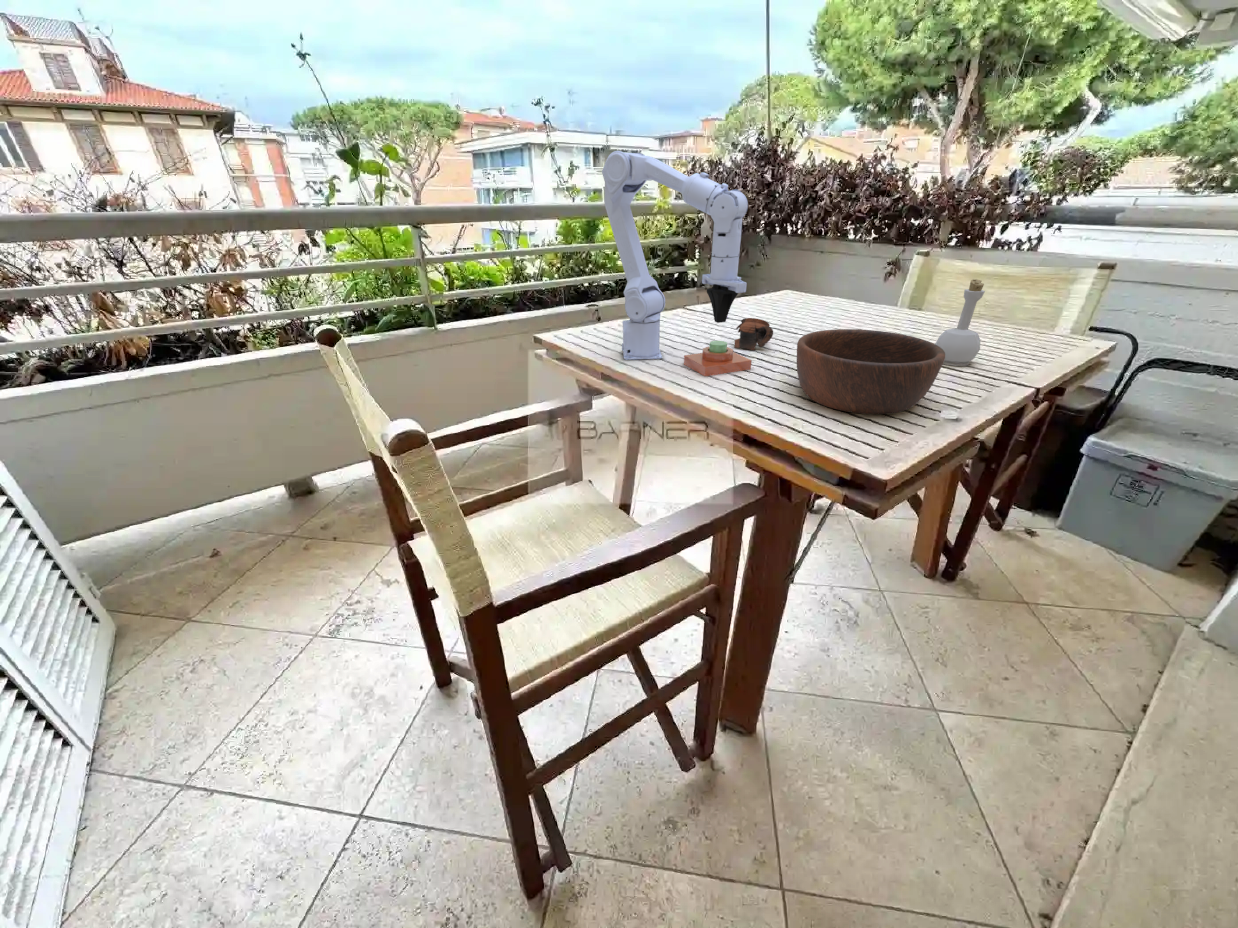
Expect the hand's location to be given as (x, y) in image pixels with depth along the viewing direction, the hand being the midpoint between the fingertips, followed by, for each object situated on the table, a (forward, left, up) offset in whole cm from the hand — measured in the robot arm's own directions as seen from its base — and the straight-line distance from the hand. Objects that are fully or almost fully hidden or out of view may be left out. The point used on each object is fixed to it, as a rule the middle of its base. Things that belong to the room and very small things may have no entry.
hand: (720, 321), depth 108 cm
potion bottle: (+55, -1, -11) cm, 56 cm away
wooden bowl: (+24, -21, -11) cm, 33 cm away
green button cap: (0, 0, -7) cm, 7 cm away
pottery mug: (+13, +16, -11) cm, 23 cm away
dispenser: (0, 0, -10) cm, 10 cm away
